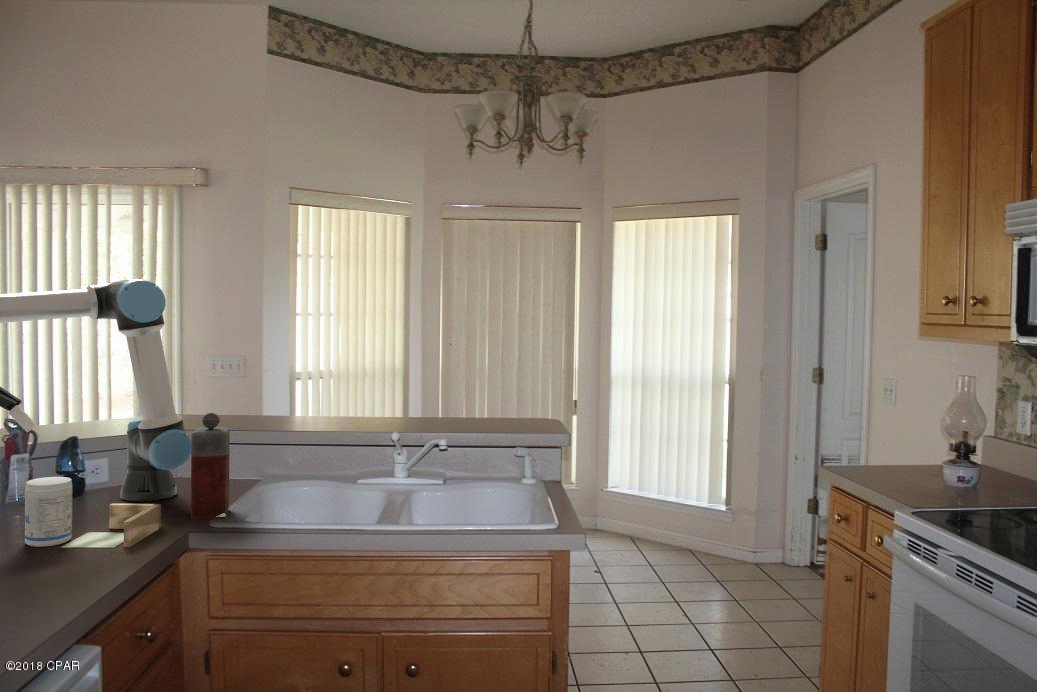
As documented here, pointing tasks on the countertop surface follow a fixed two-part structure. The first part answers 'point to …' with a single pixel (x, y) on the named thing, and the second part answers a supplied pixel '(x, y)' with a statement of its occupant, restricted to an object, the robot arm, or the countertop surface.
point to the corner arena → (123, 527)
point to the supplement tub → (48, 511)
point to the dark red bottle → (210, 469)
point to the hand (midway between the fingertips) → (14, 432)
